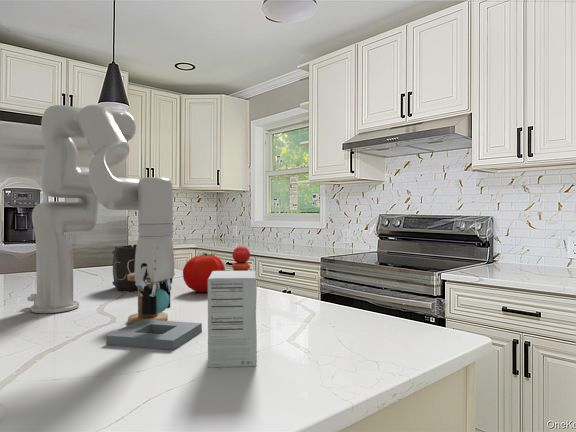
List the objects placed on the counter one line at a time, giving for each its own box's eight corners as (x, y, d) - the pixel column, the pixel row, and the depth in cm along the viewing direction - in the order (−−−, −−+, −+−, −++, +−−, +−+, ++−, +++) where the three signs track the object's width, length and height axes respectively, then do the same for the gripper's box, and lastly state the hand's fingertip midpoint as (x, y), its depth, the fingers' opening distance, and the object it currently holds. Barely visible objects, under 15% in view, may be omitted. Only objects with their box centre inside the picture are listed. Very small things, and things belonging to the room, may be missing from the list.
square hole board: (106, 344, 94) (106, 335, 94) (142, 327, 107) (142, 319, 107) (173, 350, 90) (173, 340, 90) (201, 331, 104) (201, 323, 104)
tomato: (217, 287, 163) (217, 250, 163) (232, 293, 151) (232, 254, 151) (176, 291, 155) (176, 253, 155) (188, 297, 143) (188, 256, 143)
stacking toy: (249, 314, 120) (249, 247, 120) (222, 313, 122) (222, 247, 121) (257, 308, 128) (257, 245, 127) (231, 307, 129) (231, 244, 129)
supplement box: (211, 351, 89) (211, 270, 89) (256, 350, 90) (256, 269, 90) (207, 368, 80) (206, 277, 80) (257, 366, 81) (256, 277, 80)
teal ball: (139, 315, 96) (139, 290, 96) (152, 309, 102) (152, 286, 102) (161, 316, 95) (161, 291, 95) (173, 310, 101) (173, 287, 101)
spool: (119, 324, 110) (119, 276, 110) (141, 315, 120) (141, 270, 120) (155, 327, 108) (154, 277, 108) (174, 317, 117) (174, 271, 117)
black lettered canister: (155, 292, 152) (155, 248, 152) (104, 292, 152) (104, 248, 152) (170, 283, 170) (170, 244, 170) (124, 283, 170) (124, 243, 170)
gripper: (160, 230, 108) (161, 302, 108) (118, 233, 91) (119, 319, 91) (188, 230, 106) (188, 303, 106) (150, 233, 89) (151, 321, 89)
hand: (156, 310), depth 99 cm, fingers closed on teal ball, 5 cm apart
